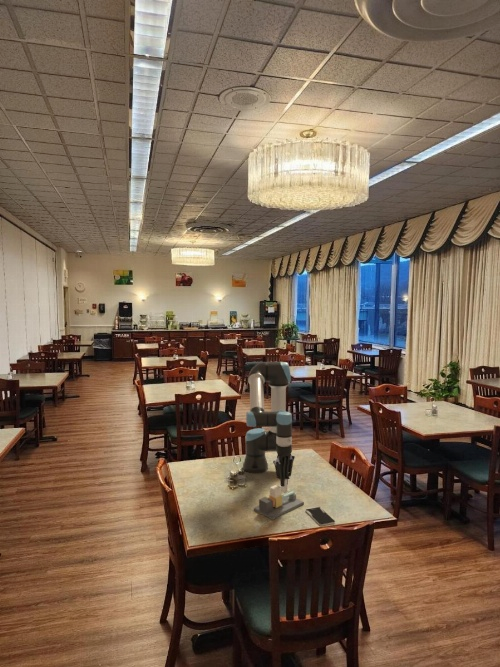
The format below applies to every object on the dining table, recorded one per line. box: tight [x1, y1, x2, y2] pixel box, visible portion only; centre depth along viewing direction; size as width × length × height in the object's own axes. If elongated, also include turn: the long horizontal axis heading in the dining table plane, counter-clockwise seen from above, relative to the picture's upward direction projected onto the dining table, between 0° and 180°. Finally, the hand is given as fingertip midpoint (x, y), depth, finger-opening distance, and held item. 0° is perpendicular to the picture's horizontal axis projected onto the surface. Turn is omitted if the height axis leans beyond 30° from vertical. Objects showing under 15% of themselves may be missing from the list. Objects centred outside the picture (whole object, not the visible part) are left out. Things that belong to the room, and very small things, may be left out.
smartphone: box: [305, 506, 336, 527], centre depth 188 cm, size 8×1×15 cm
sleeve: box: [268, 484, 282, 508], centre depth 196 cm, size 5×4×9 cm
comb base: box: [253, 490, 305, 520], centre depth 198 cm, size 12×22×6 cm, turn 132°
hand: (284, 491), depth 200 cm, fingers closed
